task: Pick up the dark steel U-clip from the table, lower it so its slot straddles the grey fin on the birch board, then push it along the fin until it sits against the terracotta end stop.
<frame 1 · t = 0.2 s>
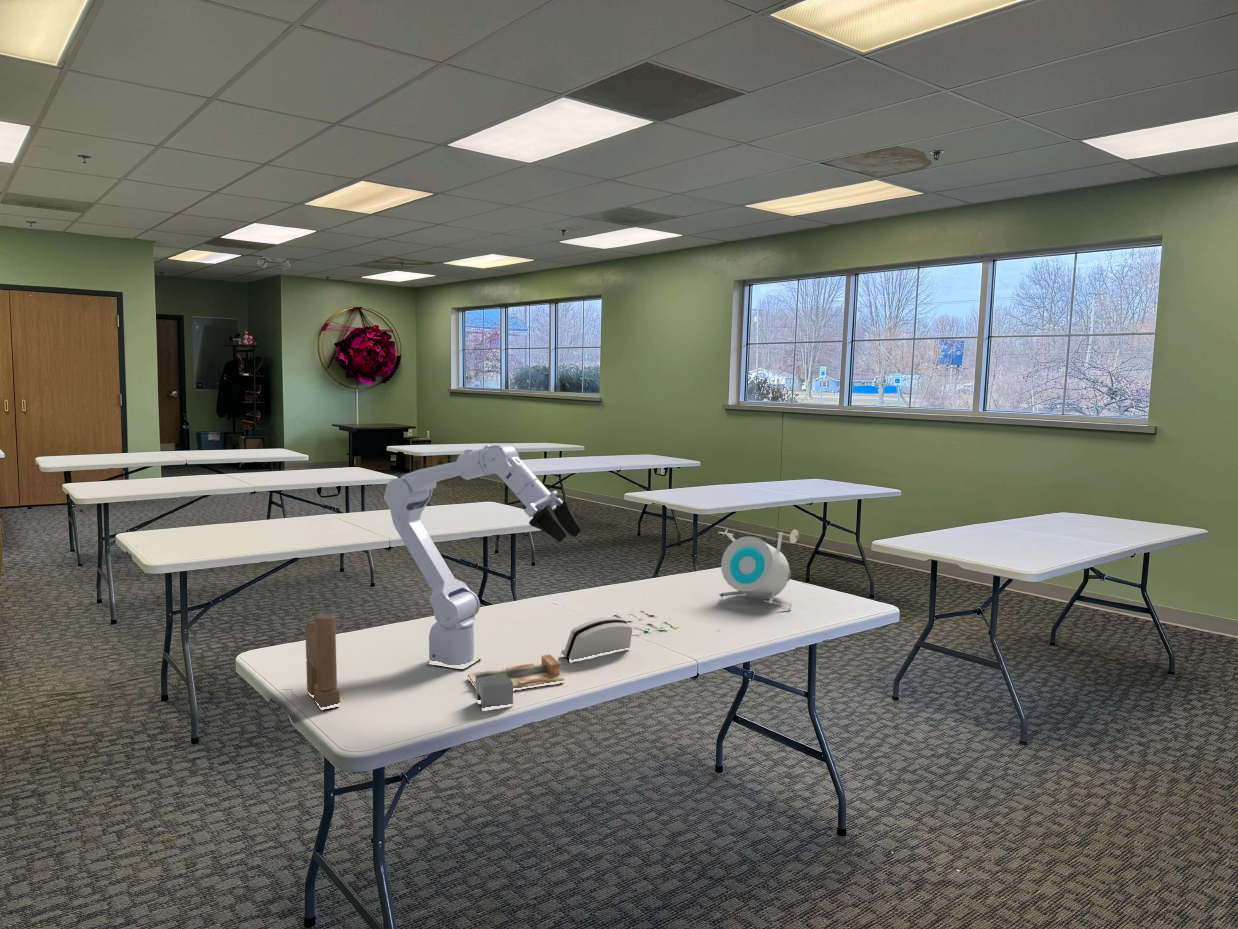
hand: (571, 536, 165), 31 cm above the table, tool tilted 45°, fingers open, 7 cm apart
wooden block: (323, 701, 157), on the table
grey rounded block: (598, 656, 185), on the table
clip: (494, 704, 156), on the table
printed paper: (639, 627, 209), on the table
satellite: (753, 600, 233), on the table
rail: (515, 681, 168), on the table
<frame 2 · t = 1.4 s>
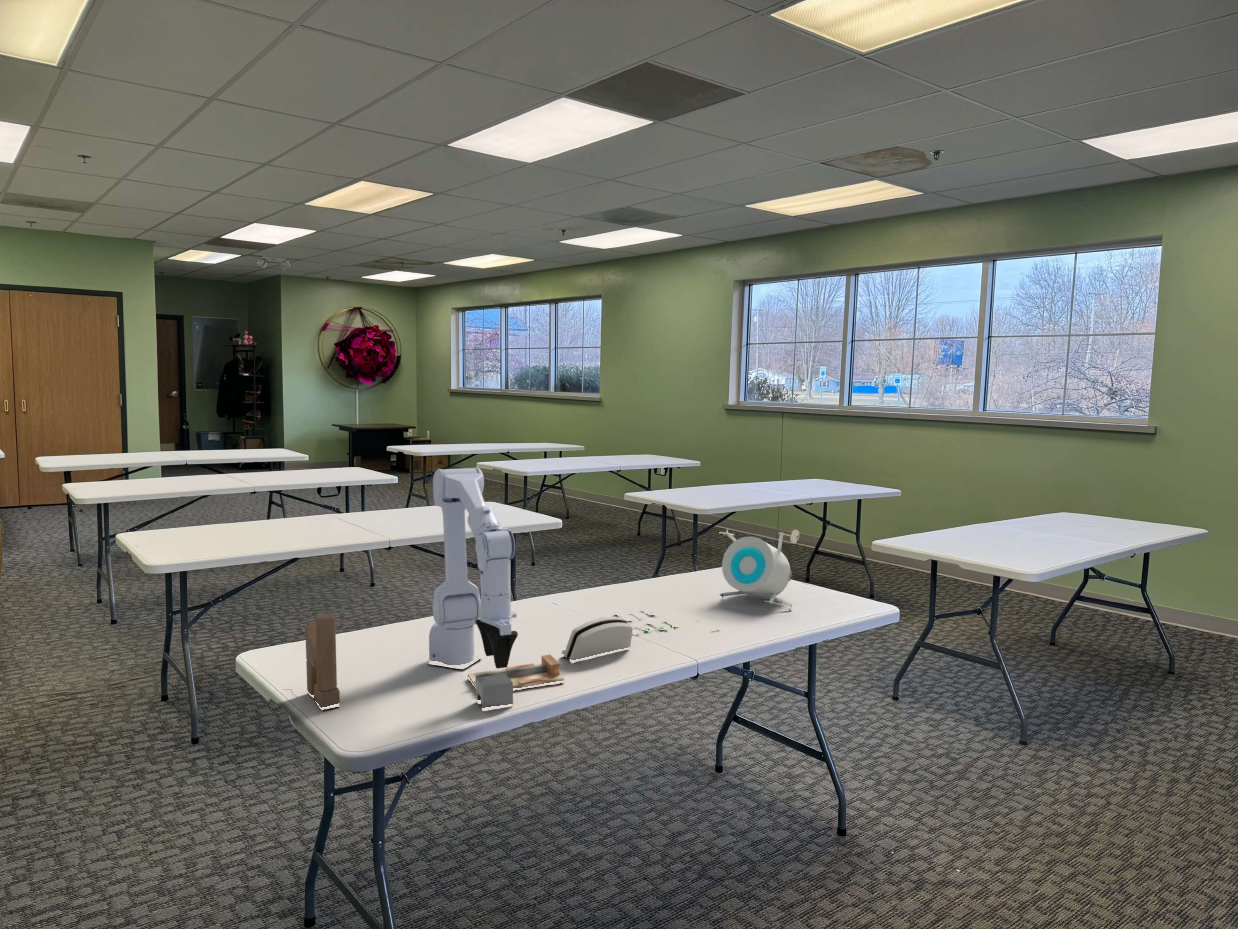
hand: (496, 661, 155), 9 cm above the table, tool pointing down, fingers open, 7 cm apart
nothing on the table moved.
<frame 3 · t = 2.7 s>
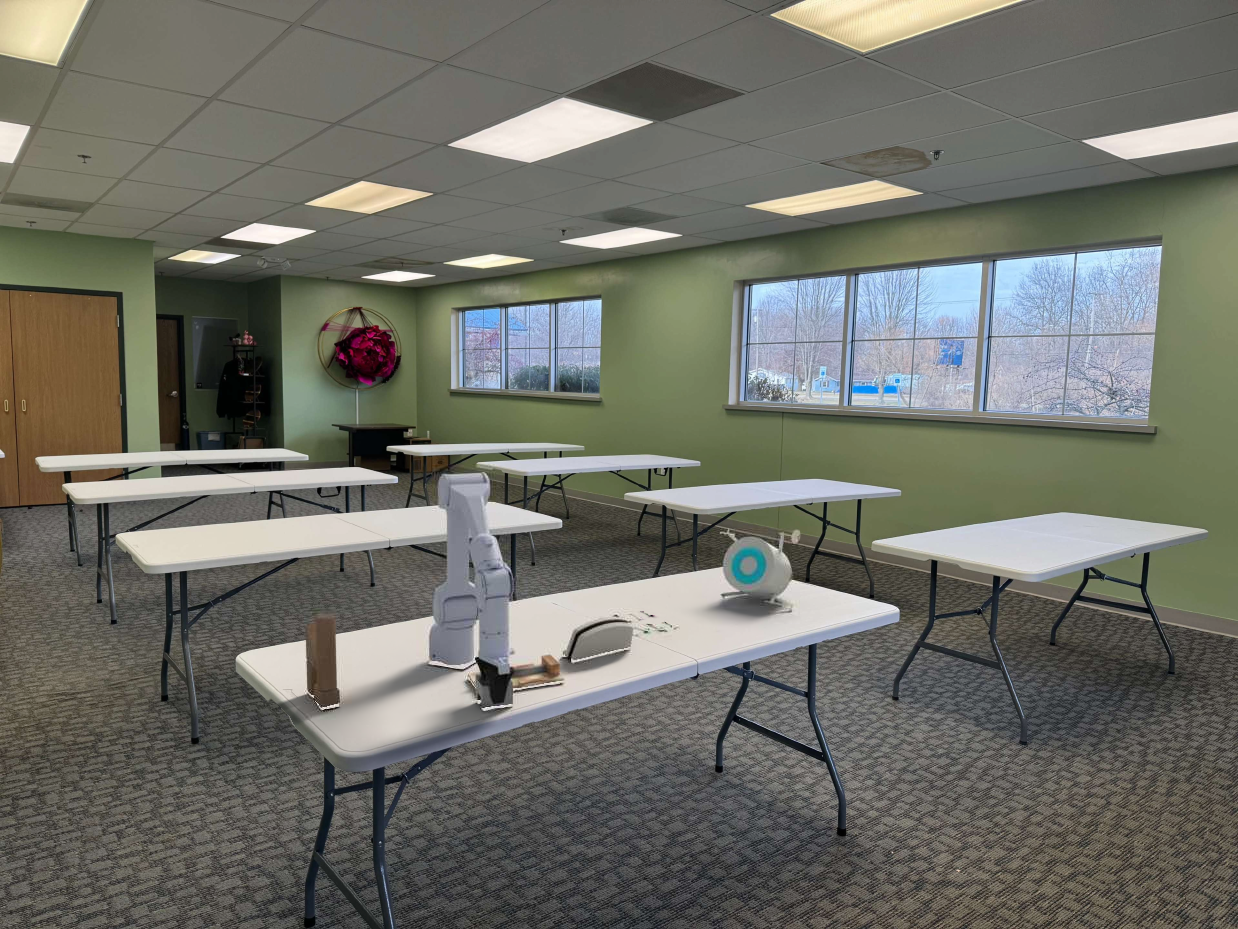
hand: (494, 697, 156), 1 cm above the table, tool pointing down, fingers closed on clip, 5 cm apart
clip: (494, 704, 156), on the table, touching gripper
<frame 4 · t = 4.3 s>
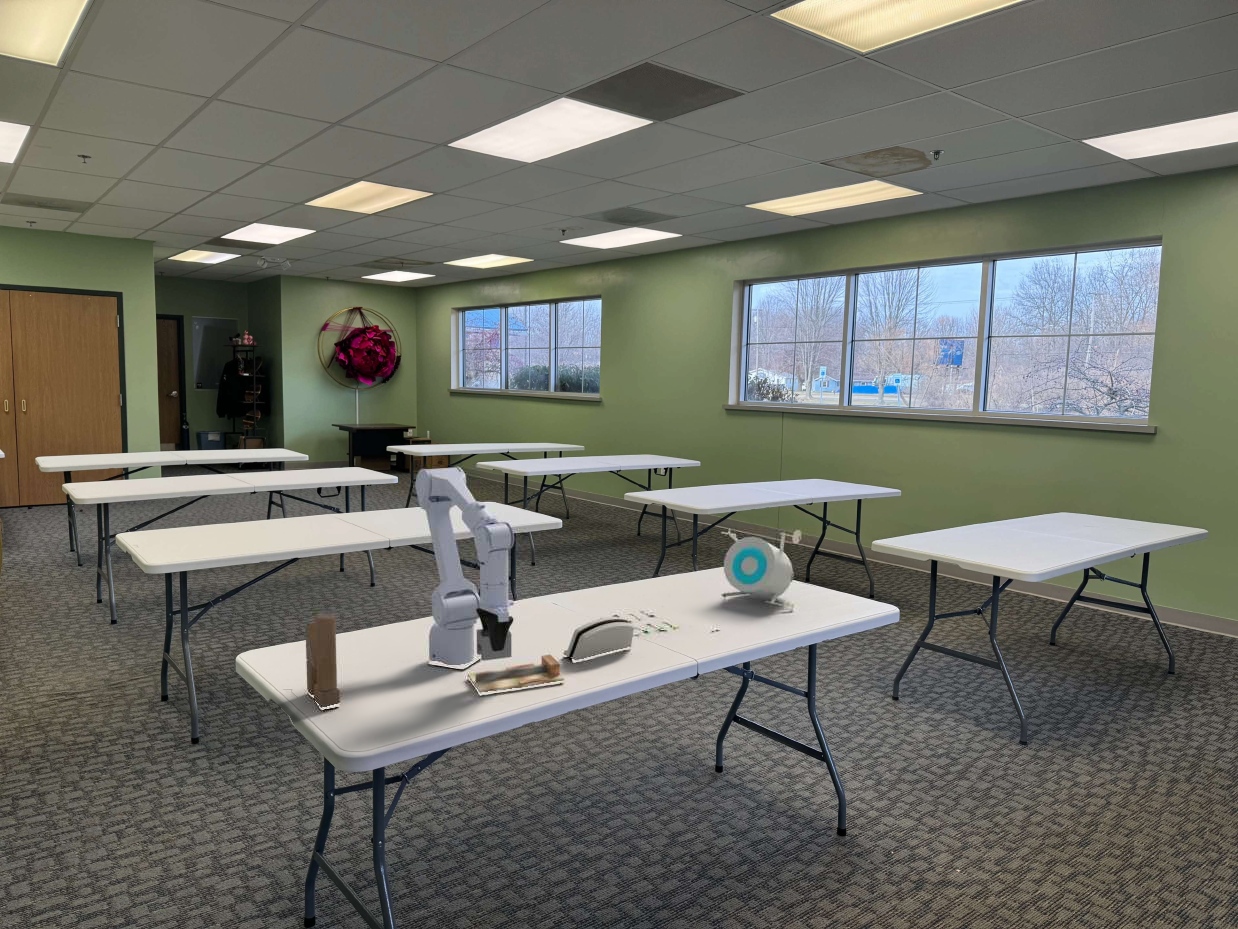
hand: (494, 646, 165), 8 cm above the table, tool pointing down, fingers closed on clip, 5 cm apart
clip: (493, 655, 165), point 6 cm above the table, touching gripper
when the fingers open (3 cm above the table, at t = 5.8 s): clip stays where it is, resting on rail.
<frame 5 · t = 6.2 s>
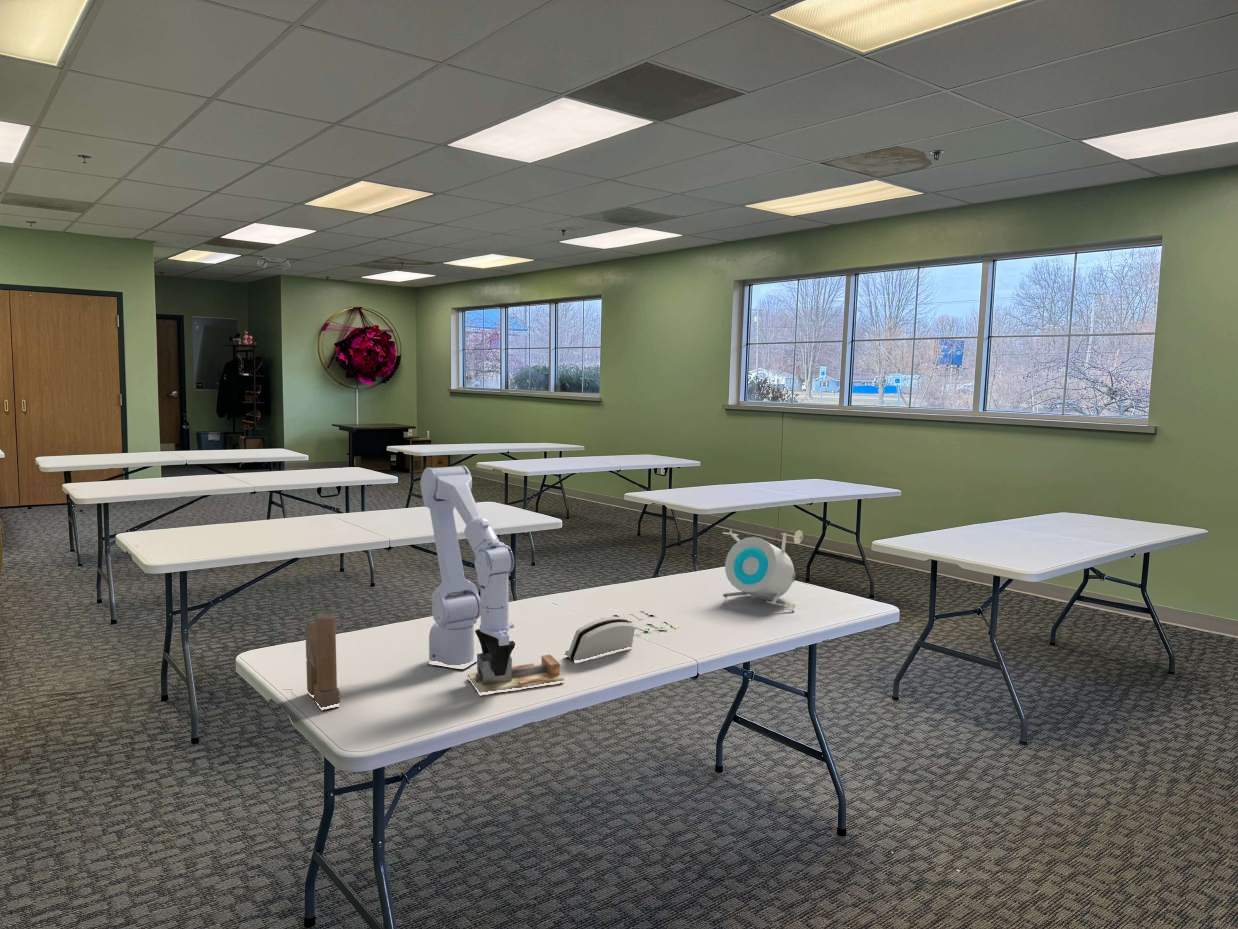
hand: (494, 668, 166), 3 cm above the table, tool pointing down, fingers open, 7 cm apart
clip: (494, 679, 166), point 1 cm above the table, touching rail
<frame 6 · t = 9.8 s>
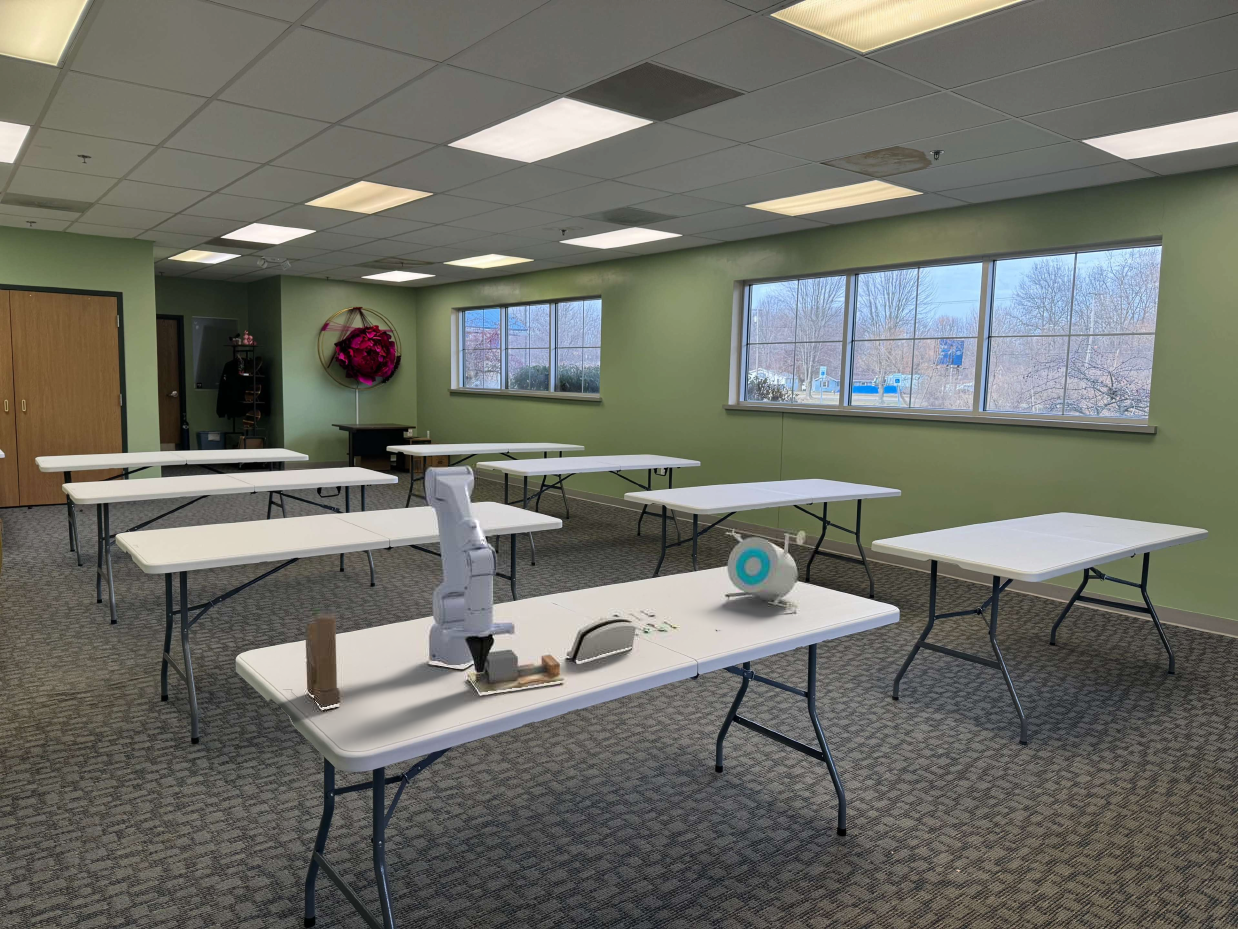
hand: (479, 671, 165), 3 cm above the table, tool pointing down, fingers closed
clip: (500, 678, 167), point 1 cm above the table, touching gripper
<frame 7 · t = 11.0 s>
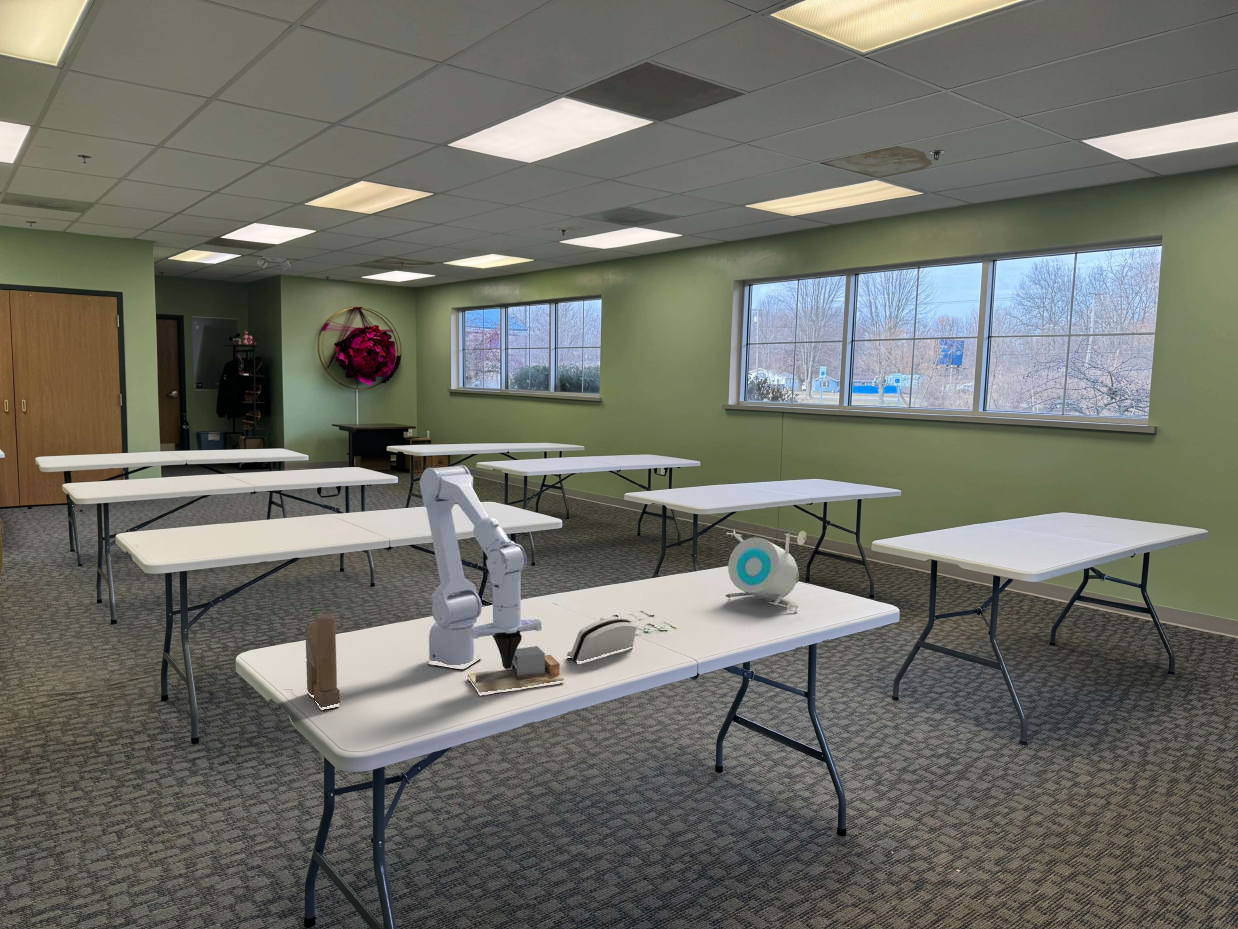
hand: (506, 667, 167), 3 cm above the table, tool pointing down, fingers closed
clip: (527, 674, 169), point 1 cm above the table, touching gripper, rail
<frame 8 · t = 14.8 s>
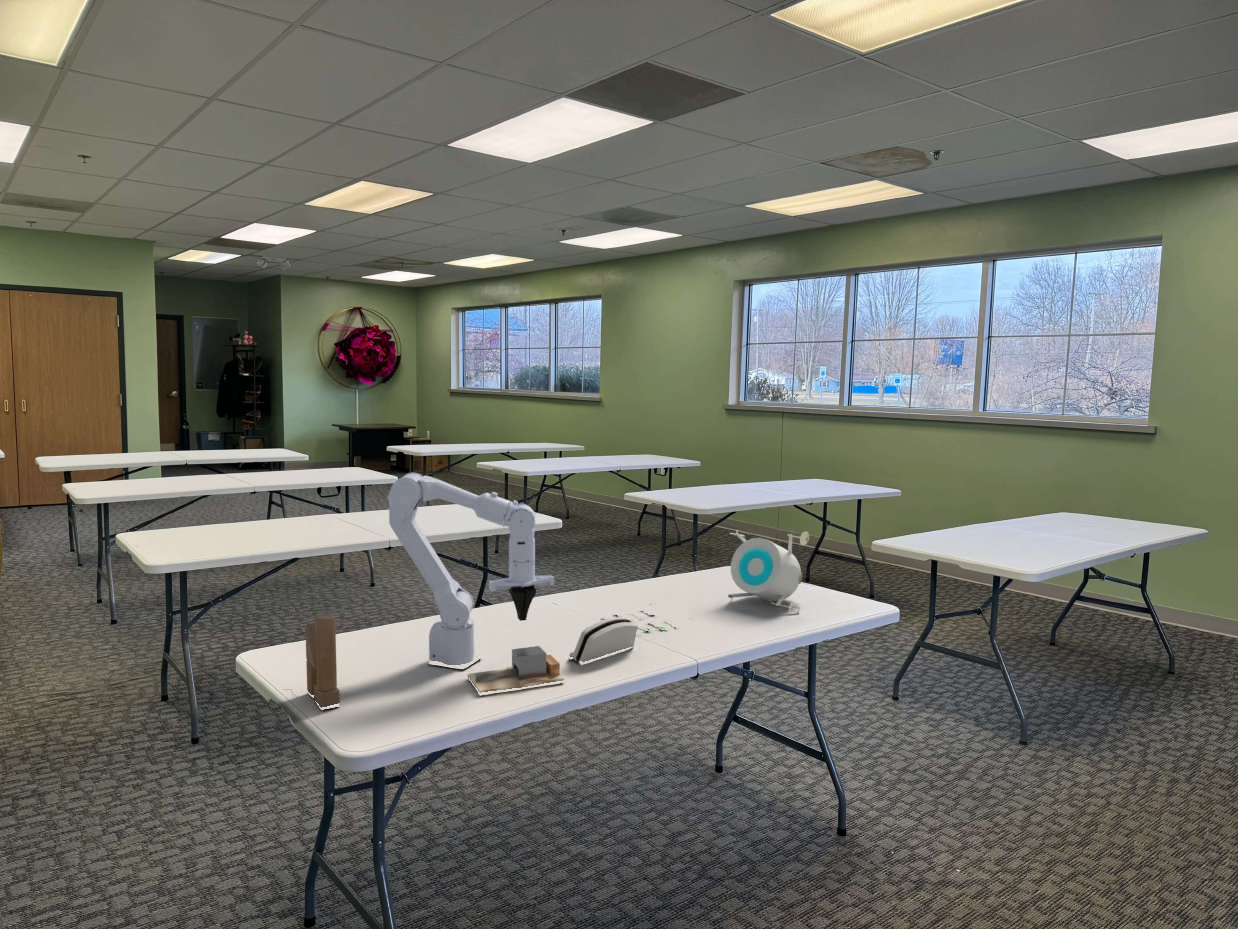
hand: (521, 619, 179), 10 cm above the table, tool pointing down, fingers closed
clip: (528, 674, 169), point 1 cm above the table, touching rail
at the end: clip 0.4 cm from the target spot, point 1.2 cm above the table; clip tilted 0° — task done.
